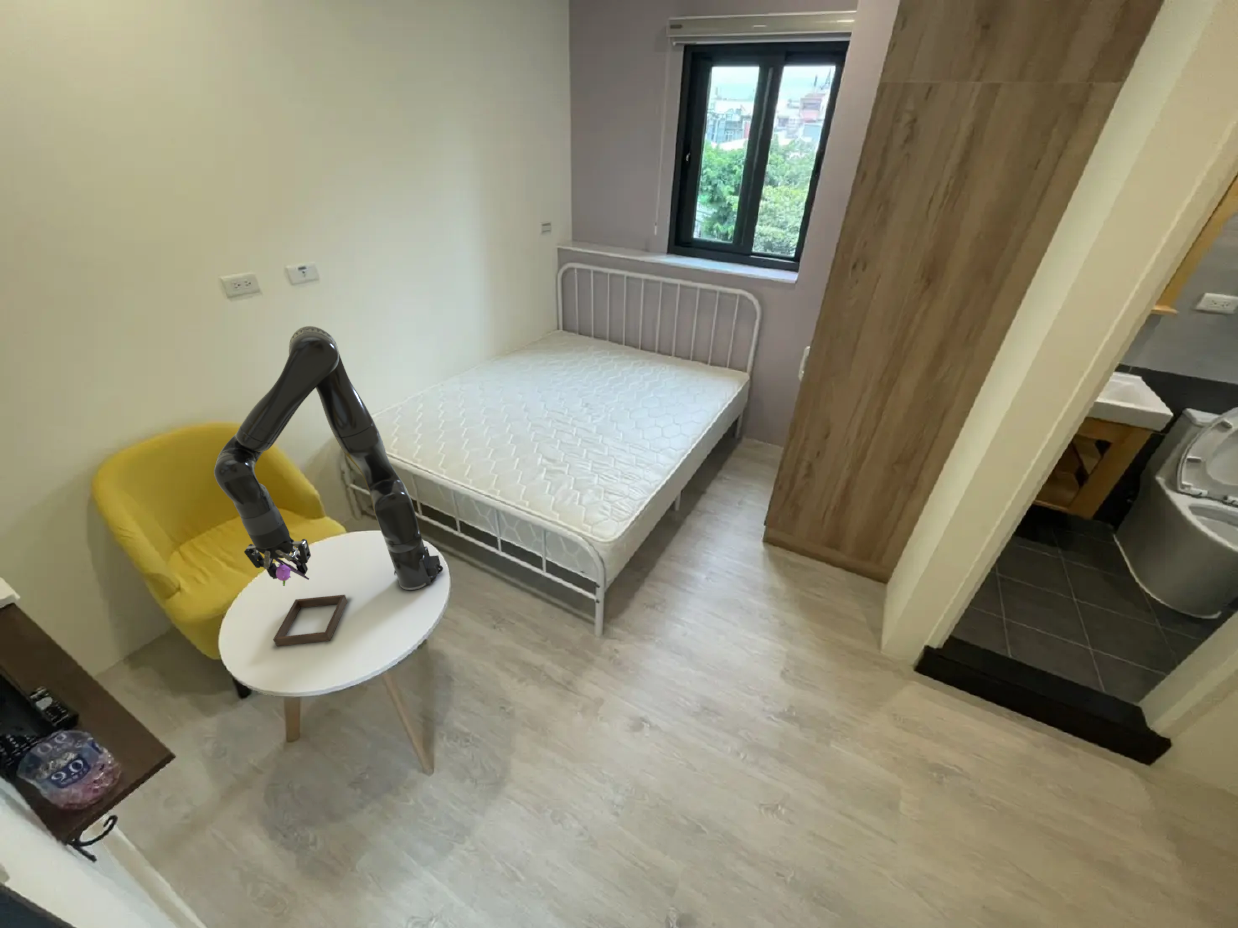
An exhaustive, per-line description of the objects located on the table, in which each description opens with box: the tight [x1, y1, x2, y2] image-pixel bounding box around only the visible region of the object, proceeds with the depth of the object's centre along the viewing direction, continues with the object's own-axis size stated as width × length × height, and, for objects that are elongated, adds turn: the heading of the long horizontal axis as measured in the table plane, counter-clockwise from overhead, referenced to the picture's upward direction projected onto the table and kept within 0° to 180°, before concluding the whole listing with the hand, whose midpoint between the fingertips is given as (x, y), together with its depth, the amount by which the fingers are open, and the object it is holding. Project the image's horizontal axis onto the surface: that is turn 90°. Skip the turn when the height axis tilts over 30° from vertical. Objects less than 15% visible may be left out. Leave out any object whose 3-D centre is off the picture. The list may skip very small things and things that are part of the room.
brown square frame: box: [272, 594, 348, 647], centre depth 135 cm, size 13×14×3 cm
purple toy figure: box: [273, 558, 310, 587], centre depth 129 cm, size 7×5×9 cm
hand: (290, 575), depth 130 cm, fingers closed on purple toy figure, 6 cm apart
